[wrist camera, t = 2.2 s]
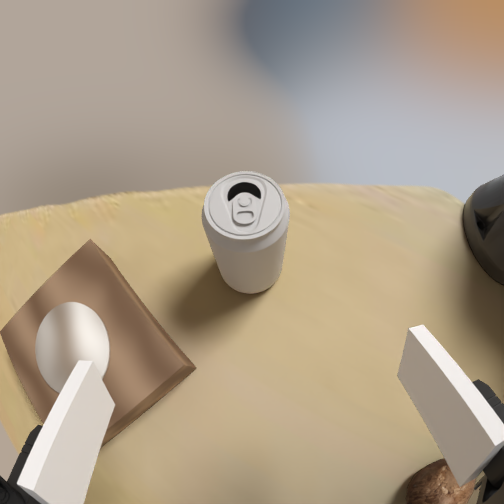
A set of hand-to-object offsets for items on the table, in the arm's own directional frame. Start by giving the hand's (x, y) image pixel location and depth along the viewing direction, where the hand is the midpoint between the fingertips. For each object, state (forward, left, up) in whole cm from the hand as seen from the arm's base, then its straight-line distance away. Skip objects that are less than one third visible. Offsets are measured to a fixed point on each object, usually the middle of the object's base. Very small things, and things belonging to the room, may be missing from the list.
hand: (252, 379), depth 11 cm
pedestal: (+12, -13, -17) cm, 24 cm away
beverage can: (-7, -9, -17) cm, 21 cm away
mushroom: (-3, +23, -17) cm, 29 cm away
